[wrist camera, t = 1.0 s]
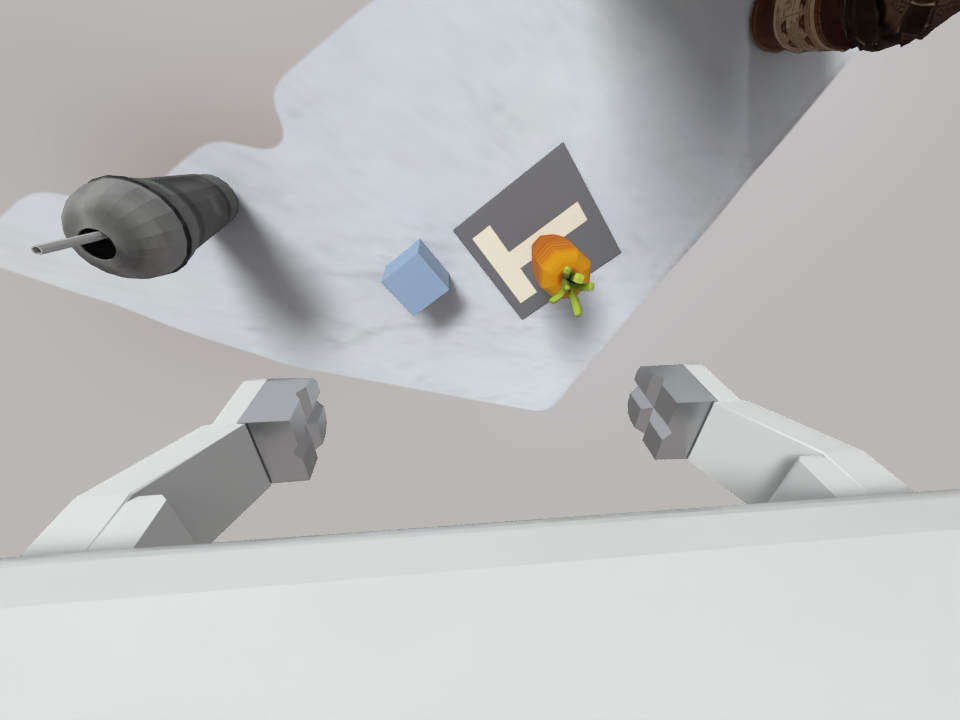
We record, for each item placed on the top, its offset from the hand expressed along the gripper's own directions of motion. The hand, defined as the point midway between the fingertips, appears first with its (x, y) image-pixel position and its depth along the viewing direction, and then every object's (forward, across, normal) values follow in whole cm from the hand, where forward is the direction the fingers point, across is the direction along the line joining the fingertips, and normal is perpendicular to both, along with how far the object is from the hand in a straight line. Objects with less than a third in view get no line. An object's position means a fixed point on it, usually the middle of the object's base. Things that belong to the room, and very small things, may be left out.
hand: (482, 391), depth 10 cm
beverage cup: (+35, +24, +2) cm, 42 cm away
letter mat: (+35, -10, +6) cm, 37 cm away
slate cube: (+35, +4, +9) cm, 37 cm away
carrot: (+35, -10, +6) cm, 37 cm away
